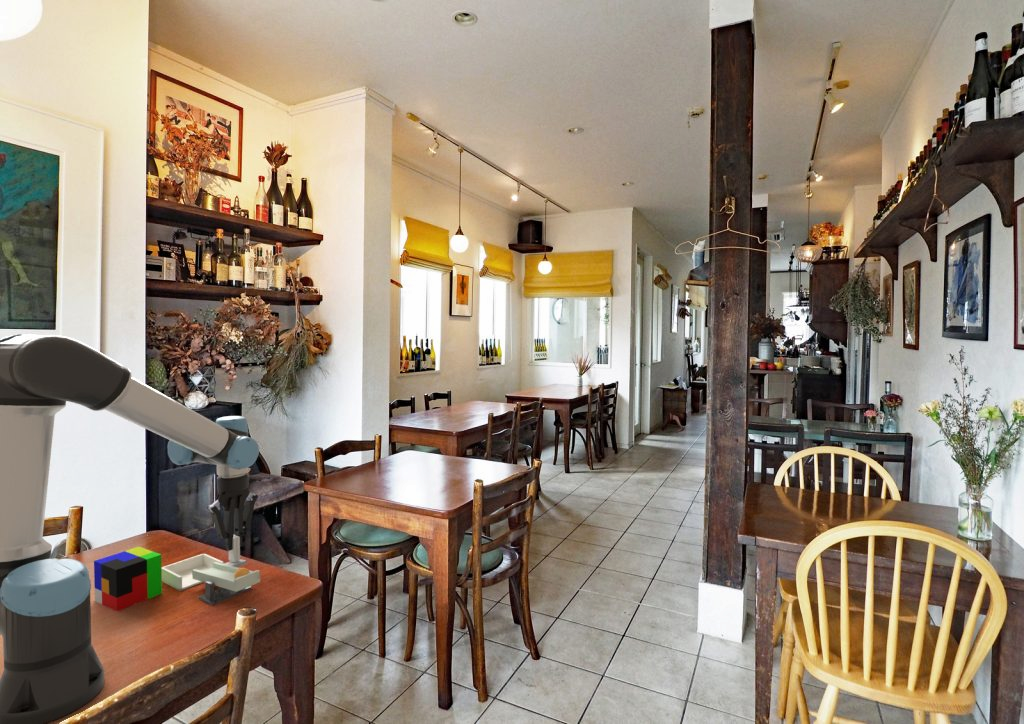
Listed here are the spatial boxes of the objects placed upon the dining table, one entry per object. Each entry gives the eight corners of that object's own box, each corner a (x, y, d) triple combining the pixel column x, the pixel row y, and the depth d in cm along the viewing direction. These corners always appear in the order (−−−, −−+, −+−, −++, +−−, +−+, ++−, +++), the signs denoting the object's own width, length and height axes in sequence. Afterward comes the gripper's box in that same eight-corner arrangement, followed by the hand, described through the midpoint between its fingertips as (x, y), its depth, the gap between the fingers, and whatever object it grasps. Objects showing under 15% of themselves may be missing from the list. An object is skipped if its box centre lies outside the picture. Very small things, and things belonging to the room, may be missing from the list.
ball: (239, 585, 126) (239, 571, 126) (231, 581, 128) (231, 568, 128) (251, 579, 129) (251, 567, 129) (244, 576, 130) (244, 563, 130)
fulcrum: (251, 589, 135) (251, 571, 135) (211, 605, 127) (211, 587, 126) (238, 583, 138) (238, 566, 138) (198, 598, 130) (198, 580, 130)
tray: (179, 591, 134) (179, 577, 133) (160, 580, 139) (160, 567, 139) (223, 574, 143) (223, 561, 143) (204, 565, 148) (204, 553, 148)
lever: (282, 572, 134) (281, 561, 134) (236, 591, 124) (235, 579, 124) (238, 562, 145) (237, 552, 145) (192, 578, 135) (191, 567, 135)
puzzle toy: (94, 601, 128) (93, 560, 128) (139, 584, 137) (139, 546, 137) (116, 611, 124) (116, 569, 123) (162, 593, 132) (161, 554, 132)
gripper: (215, 482, 134) (217, 573, 135) (264, 471, 145) (265, 554, 147) (199, 477, 138) (201, 565, 139) (248, 466, 149) (249, 548, 151)
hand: (234, 559), depth 143 cm, fingers closed
